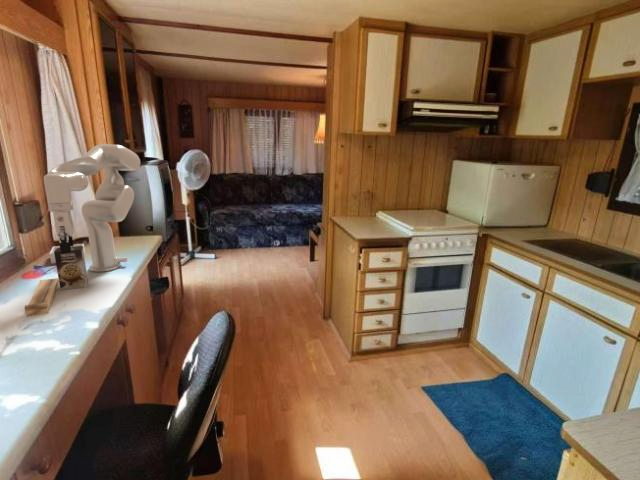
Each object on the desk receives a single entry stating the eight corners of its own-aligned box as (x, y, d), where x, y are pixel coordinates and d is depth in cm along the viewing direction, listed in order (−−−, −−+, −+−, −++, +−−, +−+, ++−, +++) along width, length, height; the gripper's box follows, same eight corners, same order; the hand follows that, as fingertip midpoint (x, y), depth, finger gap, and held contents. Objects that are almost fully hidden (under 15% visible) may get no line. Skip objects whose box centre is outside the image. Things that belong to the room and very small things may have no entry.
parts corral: (85, 252, 185) (83, 243, 184) (83, 259, 175) (82, 250, 174) (54, 256, 179) (53, 246, 178) (51, 263, 169) (49, 253, 168)
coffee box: (60, 290, 141) (52, 252, 136) (62, 284, 146) (55, 247, 142) (87, 287, 145) (81, 249, 140) (88, 281, 150) (82, 245, 146)
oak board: (59, 282, 149) (57, 274, 148) (48, 313, 124) (46, 303, 123) (41, 284, 146) (39, 276, 145) (26, 316, 121) (24, 307, 120)
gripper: (70, 209, 131) (76, 254, 135) (74, 202, 145) (80, 243, 150) (44, 211, 127) (52, 256, 132) (51, 203, 142) (58, 244, 146)
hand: (67, 249), depth 141 cm, fingers open, 9 cm apart
